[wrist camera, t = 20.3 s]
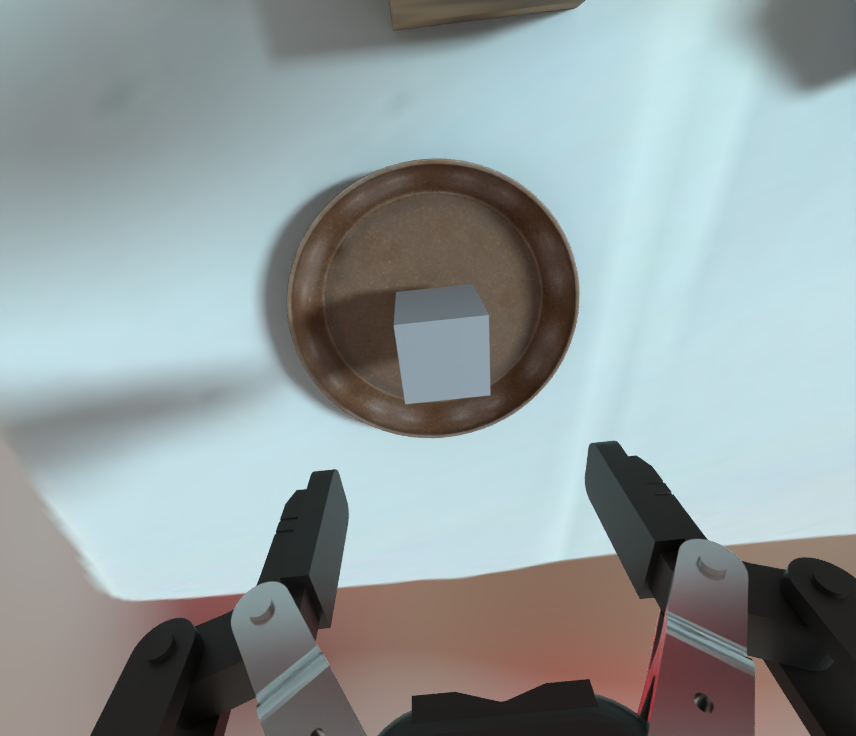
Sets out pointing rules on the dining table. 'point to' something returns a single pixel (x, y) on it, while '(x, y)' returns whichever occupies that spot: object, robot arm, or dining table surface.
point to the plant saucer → (431, 268)
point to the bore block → (466, 10)
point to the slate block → (442, 343)
